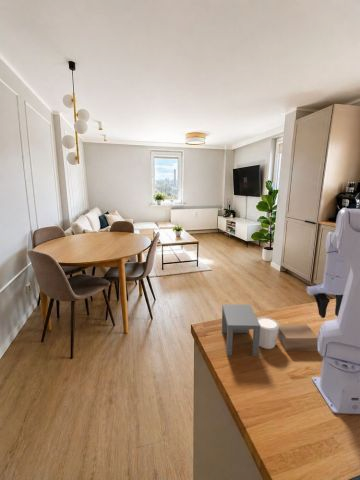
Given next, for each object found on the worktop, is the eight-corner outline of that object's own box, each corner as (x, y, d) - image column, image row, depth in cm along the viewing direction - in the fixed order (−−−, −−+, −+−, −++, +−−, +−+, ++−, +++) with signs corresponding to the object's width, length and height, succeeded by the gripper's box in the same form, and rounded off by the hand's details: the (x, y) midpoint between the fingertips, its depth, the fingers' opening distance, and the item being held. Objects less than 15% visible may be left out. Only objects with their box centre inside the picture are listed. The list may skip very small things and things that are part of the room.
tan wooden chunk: (317, 351, 69) (318, 338, 69) (285, 351, 70) (286, 338, 69) (305, 336, 76) (306, 324, 75) (276, 337, 76) (277, 324, 76)
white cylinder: (273, 336, 76) (275, 317, 75) (280, 350, 70) (282, 329, 68) (252, 335, 77) (253, 316, 76) (256, 349, 70) (258, 328, 69)
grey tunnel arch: (258, 355, 68) (260, 325, 66) (227, 355, 68) (228, 325, 66) (248, 331, 79) (249, 304, 77) (221, 330, 80) (222, 304, 78)
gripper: (352, 269, 71) (346, 309, 74) (303, 269, 72) (299, 309, 75) (369, 277, 64) (362, 322, 67) (315, 277, 65) (310, 321, 68)
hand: (329, 316), depth 70 cm, fingers open, 4 cm apart
